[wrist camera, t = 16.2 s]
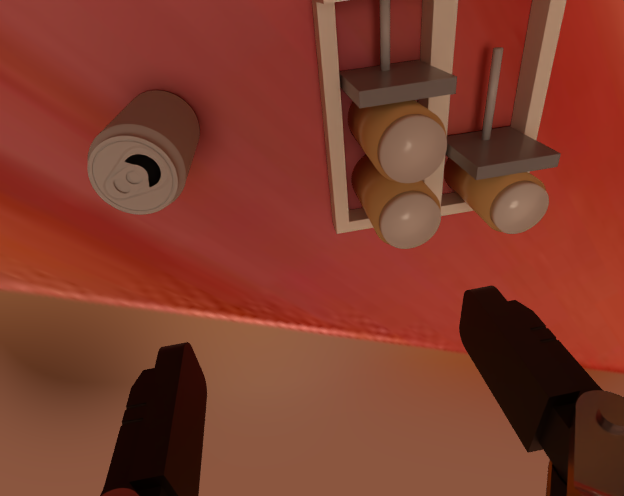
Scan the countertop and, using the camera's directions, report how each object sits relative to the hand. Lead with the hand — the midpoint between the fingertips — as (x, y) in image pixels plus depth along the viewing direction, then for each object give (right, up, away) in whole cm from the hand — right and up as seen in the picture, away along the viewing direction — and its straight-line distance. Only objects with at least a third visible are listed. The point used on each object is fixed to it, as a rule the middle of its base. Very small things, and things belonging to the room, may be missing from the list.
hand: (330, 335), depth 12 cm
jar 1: (+6, +15, +27) cm, 32 cm away
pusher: (+16, +17, +27) cm, 36 cm away
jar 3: (+16, +11, +31) cm, 37 cm away
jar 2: (+7, +10, +30) cm, 33 cm away
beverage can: (-14, +14, +25) cm, 32 cm away
